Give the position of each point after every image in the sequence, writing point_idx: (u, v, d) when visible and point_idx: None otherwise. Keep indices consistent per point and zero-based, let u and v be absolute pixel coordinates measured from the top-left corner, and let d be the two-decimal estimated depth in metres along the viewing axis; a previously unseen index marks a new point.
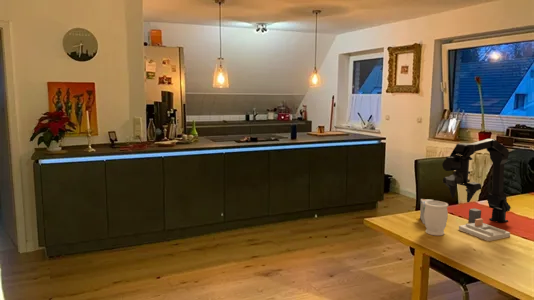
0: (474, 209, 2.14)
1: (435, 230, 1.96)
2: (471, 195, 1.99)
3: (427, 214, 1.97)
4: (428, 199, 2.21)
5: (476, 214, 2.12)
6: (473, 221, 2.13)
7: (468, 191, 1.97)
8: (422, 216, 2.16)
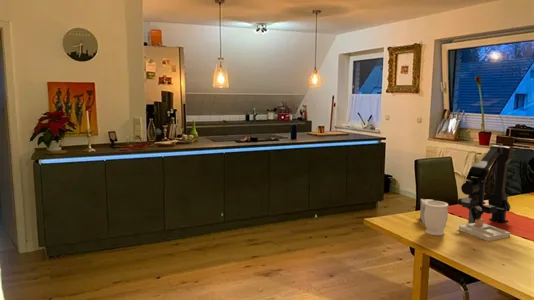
0: None
1: (435, 230, 1.96)
2: (479, 215, 2.02)
3: (427, 214, 1.97)
4: (428, 199, 2.21)
5: None
6: (473, 221, 2.13)
7: (476, 211, 2.00)
8: (422, 216, 2.16)
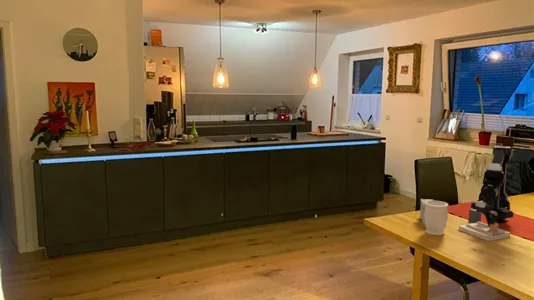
0: (474, 209, 2.14)
1: (435, 230, 1.96)
2: (494, 220, 1.94)
3: (427, 214, 1.97)
4: (428, 199, 2.21)
5: (476, 214, 2.12)
6: (473, 221, 2.13)
7: (491, 216, 1.92)
8: (422, 216, 2.16)
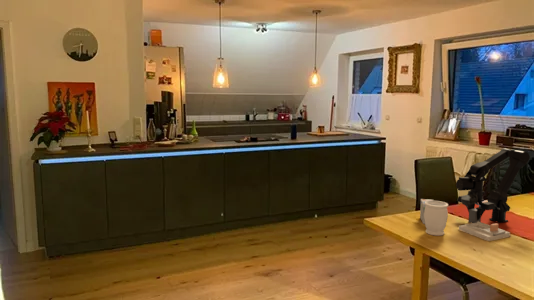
0: (474, 209, 2.14)
1: (435, 230, 1.96)
2: (481, 213, 2.11)
3: (427, 214, 1.97)
4: (428, 199, 2.21)
5: (476, 214, 2.12)
6: (473, 221, 2.13)
7: (478, 209, 2.09)
8: (422, 216, 2.16)
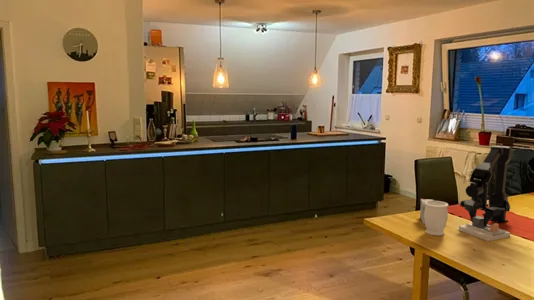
0: (478, 217, 2.02)
1: (435, 230, 1.96)
2: (488, 219, 1.97)
3: (427, 214, 1.97)
4: (428, 199, 2.21)
5: (480, 223, 1.99)
6: None
7: (485, 216, 1.95)
8: (422, 216, 2.16)
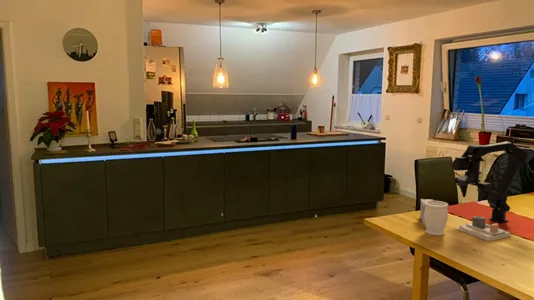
0: (478, 217, 2.02)
1: (435, 230, 1.96)
2: (482, 195, 2.07)
3: (427, 214, 1.97)
4: (428, 199, 2.21)
5: (480, 223, 1.99)
6: None
7: (479, 191, 2.05)
8: (422, 216, 2.16)
